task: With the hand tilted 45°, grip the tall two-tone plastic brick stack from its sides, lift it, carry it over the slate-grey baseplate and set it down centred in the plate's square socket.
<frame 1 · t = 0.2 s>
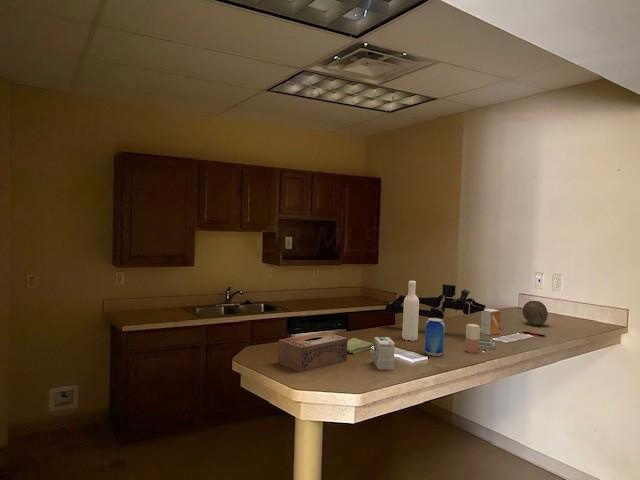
hand: (485, 307, 241), 17 cm above the counter, tool horizontal, fingers open, 9 cm apart
bottle: (409, 339, 238), on the counter
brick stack: (472, 351, 218), on the counter
washcloth: (353, 349, 217), on the counter
small box: (489, 333, 257), on the counter
light bulb box: (383, 366, 192), on the counter
baseplate: (482, 344, 231), on the counter
cantaloupe: (534, 325, 282), on the counter
fruit: (490, 327, 272), on the counter
tissue box cover: (312, 363, 194), on the counter
beer can: (433, 354, 212), on the counter
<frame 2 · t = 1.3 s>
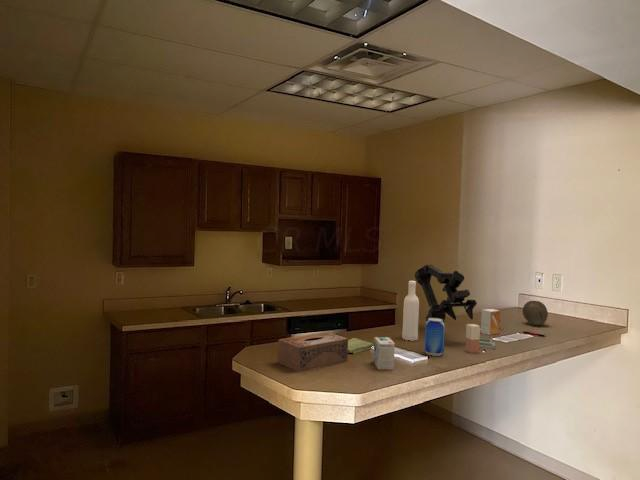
hand: (464, 319, 225), 14 cm above the counter, tool tilted 45°, fingers open, 9 cm apart
nothing on the counter moved.
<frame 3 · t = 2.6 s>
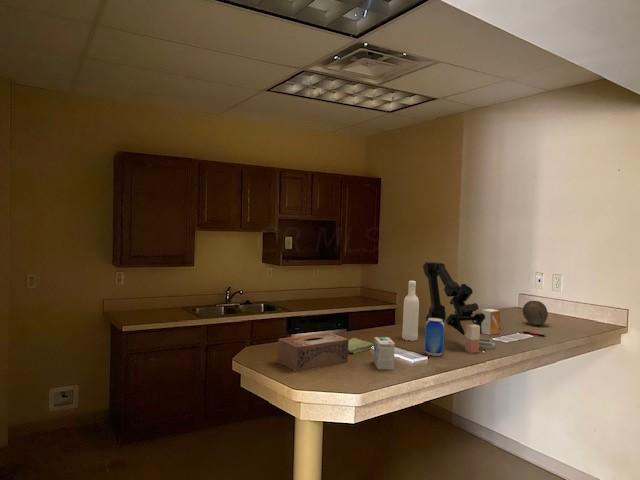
hand: (472, 334, 218), 8 cm above the counter, tool tilted 45°, fingers open, 9 cm apart
nothing on the counter moved.
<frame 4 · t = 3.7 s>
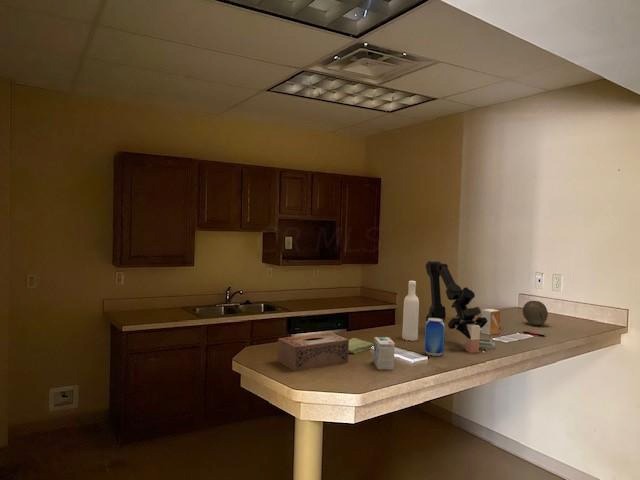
hand: (474, 338, 217), 7 cm above the counter, tool tilted 45°, fingers closed on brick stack, 4 cm apart
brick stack: (472, 351, 218), on the counter, touching gripper
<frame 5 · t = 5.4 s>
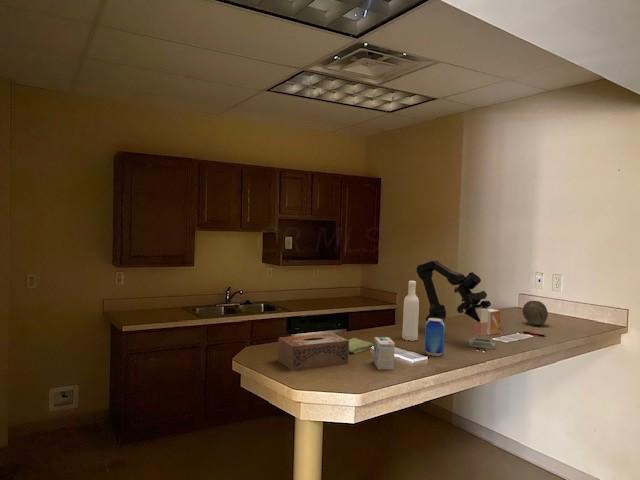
hand: (483, 321, 223), 13 cm above the counter, tool tilted 45°, fingers closed on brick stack, 4 cm apart
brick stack: (479, 334, 225), point 7 cm above the counter, touching gripper
when the fingers open (9 cm above the counter, at t = 7.0 s): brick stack drops 1 cm, resting on baseplate.
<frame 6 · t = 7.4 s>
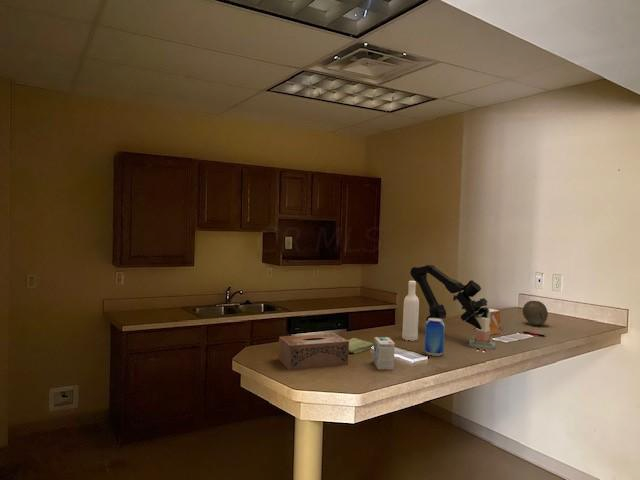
hand: (485, 327, 229), 9 cm above the counter, tool tilted 45°, fingers open, 8 cm apart
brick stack: (482, 342, 231), point 1 cm above the counter, touching baseplate
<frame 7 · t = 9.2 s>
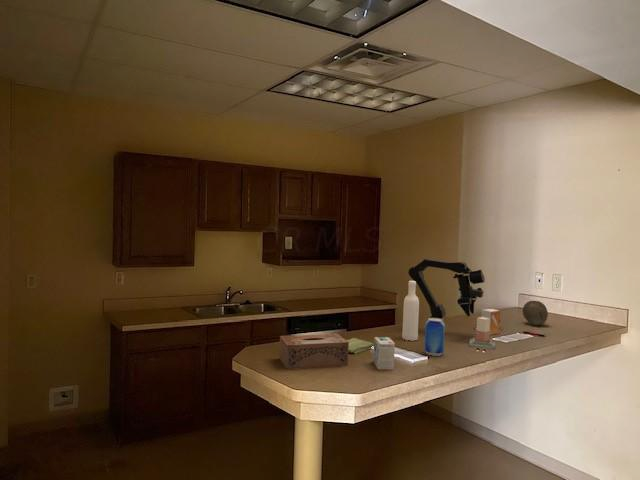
hand: (470, 314, 242), 13 cm above the counter, tool pointing down, fingers open, 9 cm apart
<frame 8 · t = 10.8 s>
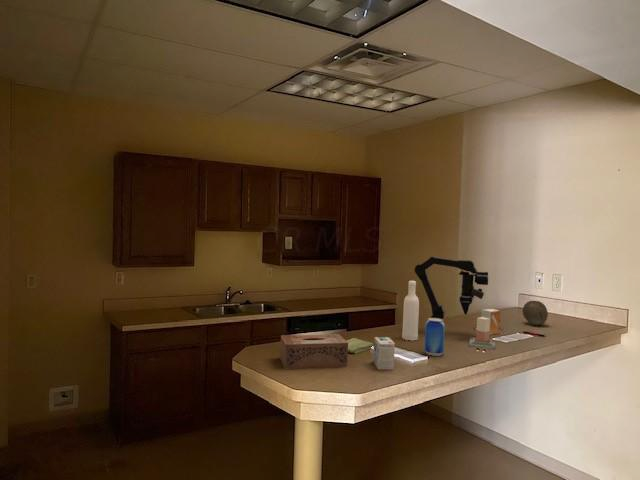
hand: (466, 312, 246), 13 cm above the counter, tool pointing down, fingers open, 9 cm apart
at the end: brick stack 0.1 cm off-centre on the baseplate, point 1.0 cm above the baseplate's base; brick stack tilted 0°; the gripper is holding nothing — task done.
